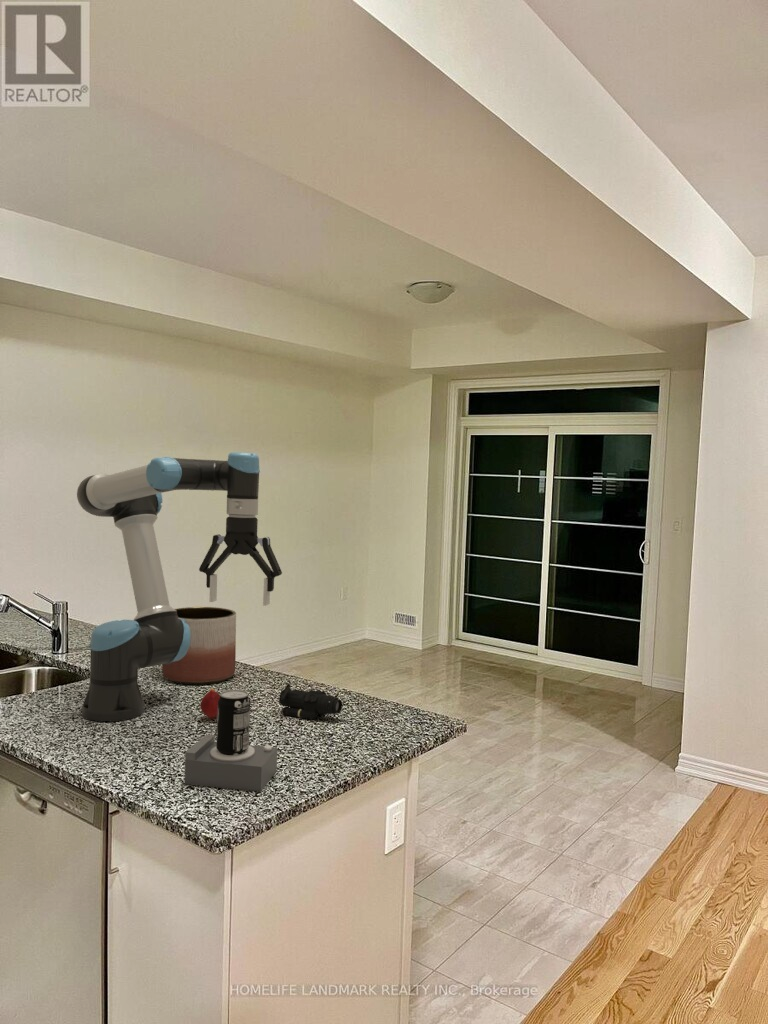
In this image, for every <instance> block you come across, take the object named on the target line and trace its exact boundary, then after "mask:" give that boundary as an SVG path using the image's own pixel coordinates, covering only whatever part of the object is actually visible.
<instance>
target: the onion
mask: <svg viewBox="0 0 768 1024" xmlns="http://www.w3.org/2000/svg"><path fill="white" fill-rule="evenodd" d="M219 698H220V693H218V692H217V691H216V690H215V689H214V688H213V687H210V689H209V691H208V692H207V693H206V694H204V696H203V697H202V698H201V700H200V705H199V706H200V711H202V714H204V715H205V716H206V717H207V718H209V720H213V719H214V718H216V717H217V714H218V700H219Z"/></svg>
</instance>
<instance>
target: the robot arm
mask: <svg viewBox="0 0 768 1024" xmlns="http://www.w3.org/2000/svg"><path fill="white" fill-rule="evenodd" d="M260 473H261V471H260V457H259V455H258V454H257V453H254V452H229V454H228V456H227V460H219V459H217V460H215V459H198V458H197V459H195V458H194V459H193V458H180V457H179V458H178V457H177V458H176V457H171V456H162V457H154V458H152V459H151V460H150V462H149V463H148V464H145V465H142V466H138V467H134V468H130V469H127V470H124V471H123V470H122V471H120V472H119V471H118V472H117V473H116V472H115V473H113V474H112V473H111V474H107V473H97V474H92V475H90V476H86V478H84V479H83V480H82V481H81V482H80V483H79V485H78V487H77V491H76V499H77V501H78V504H79V506H80V507H81V508H82V510H84V511H85V512H87V513H88V514H89V515H93V516H96V517H103V518H104V517H105V518H106V517H107V518H108V517H109V518H111V517H113V522H114V523H113V524H114V526H115V527H116V528H117V529H119V530H120V531H121V533H122V538H123V545H124V549H125V555H126V560H127V564H128V569H129V575H130V579H131V585H132V592H133V595H134V601H135V605H136V612H137V615H136V616H135V617H134V618H133V619H121V620H118V619H117V620H112V621H108V622H107V621H106V622H104V623H101V624H99V625H97V626H95V627H94V629H92V631H91V635H90V637H91V638H90V644H89V648H90V662H89V663H90V665H89V668H90V669H89V670H90V671H89V672H90V673H89V686H88V690H87V692H86V694H85V698H84V701H83V703H82V706H81V716H82V718H84V719H86V718H87V719H86V720H88V719H90V720H89V721H92V720H96V721H95V722H102V721H110V722H120V721H119V720H121V721H126V720H131V719H134V718H136V717H140V716H141V715H142V714H144V711H145V702H144V698H143V696H142V693H141V688H140V687H139V682H138V680H139V679H138V678H139V677H138V675H139V670H140V669H145V668H150V667H155V666H160V665H161V666H162V664H169V663H171V662H175V661H178V660H180V659H182V658H183V657H184V656H185V655H186V653H187V651H188V649H189V646H190V640H191V634H190V628H189V626H188V624H187V623H186V621H185V620H183V619H180V618H178V615H177V611H176V610H175V609H176V608H173V607H172V606H171V605H170V601H169V595H168V591H167V586H166V581H165V577H164V570H163V567H162V566H163V565H162V562H161V558H160V557H161V556H160V552H159V547H158V543H157V538H156V532H155V527H154V524H155V522H156V521H157V519H158V514H159V513H160V512H161V509H162V507H163V505H162V504H163V495H162V493H167V492H172V491H173V492H174V491H180V490H181V491H182V490H185V491H186V490H189V491H212V492H213V491H222V492H223V491H225V492H226V514H227V515H228V516H227V517H226V519H225V520H226V521H225V535H221V534H218V533H217V534H214V535H213V536H212V541H211V544H210V547H209V548H208V550H207V552H206V554H205V556H204V559H203V560H202V563H201V564H200V566H199V568H198V570H199V572H201V573H203V574H205V575H206V582H205V583H206V584H205V585H206V588H208V589H209V603H214V602H216V601H217V596H218V595H217V593H218V592H217V591H218V588H217V587H218V574H216V573H215V572H216V571H217V570H218V569H219V568H220V567H221V565H223V563H224V562H225V561H226V560H227V559H228V558H229V557H230V556H231V554H232V555H242V556H248V555H249V556H250V557H251V558H252V559H253V560H254V561H255V563H256V565H257V566H258V567H259V569H261V571H262V572H263V574H264V575H265V576H266V577H264V578H263V597H262V600H263V601H262V606H269V605H270V602H271V601H270V599H271V598H270V596H271V592H273V591H274V588H275V578H276V577H279V576H281V575H282V574H283V571H282V568H281V567H280V564H279V563H278V560H277V558H276V555H275V553H274V551H273V549H272V546H271V537H269V536H266V537H265V536H264V537H258V521H259V519H258V517H257V516H258V515H259V489H260V488H259V486H260V485H259V482H260ZM223 543H224V544H225V545H226V547H225V549H224V550H223V551H222V553H220V554H219V556H218V557H217V558H216V559H215V561H213V559H214V557H215V556H216V553H217V552H218V550H219V547H220V545H221V544H223ZM258 544H259V545H260V546H261V547H262V549H263V551H264V554H265V556H266V558H267V561H268V563H269V565H270V566H269V565H268V563H267V562H266V560H265V559H264V558H263V556H262V555H261V554H260V551H259V550H258V549H257V547H256V546H257V545H258ZM212 562H213V563H212ZM211 563H212V564H211ZM117 720H118V721H117Z"/></svg>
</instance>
